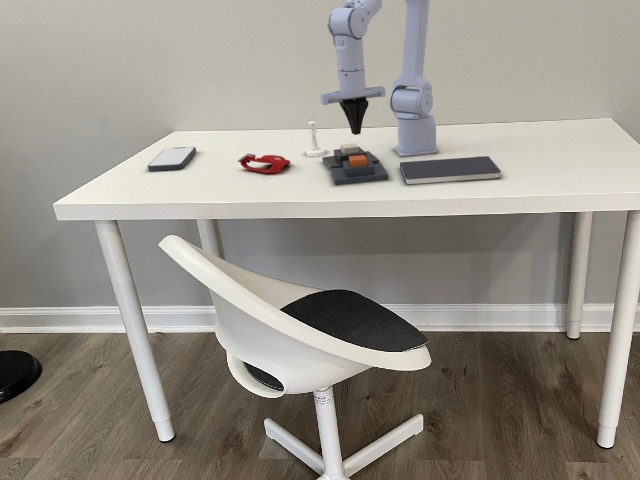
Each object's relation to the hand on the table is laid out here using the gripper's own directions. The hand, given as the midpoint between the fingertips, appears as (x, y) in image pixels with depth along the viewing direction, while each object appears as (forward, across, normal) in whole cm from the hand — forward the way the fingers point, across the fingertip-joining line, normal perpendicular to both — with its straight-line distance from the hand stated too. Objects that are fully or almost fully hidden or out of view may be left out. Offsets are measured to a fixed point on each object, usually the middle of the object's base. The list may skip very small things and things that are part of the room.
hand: (356, 133), depth 139 cm
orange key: (+7, 0, +1) cm, 7 cm away
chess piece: (+10, +2, -24) cm, 26 cm away
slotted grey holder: (+10, 0, +1) cm, 10 cm away
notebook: (+10, -18, +10) cm, 23 cm away
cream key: (+7, -2, -10) cm, 12 cm away
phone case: (+10, +36, -38) cm, 54 cm away
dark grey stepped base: (+10, -2, -10) cm, 14 cm away
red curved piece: (+10, +17, -18) cm, 26 cm away
